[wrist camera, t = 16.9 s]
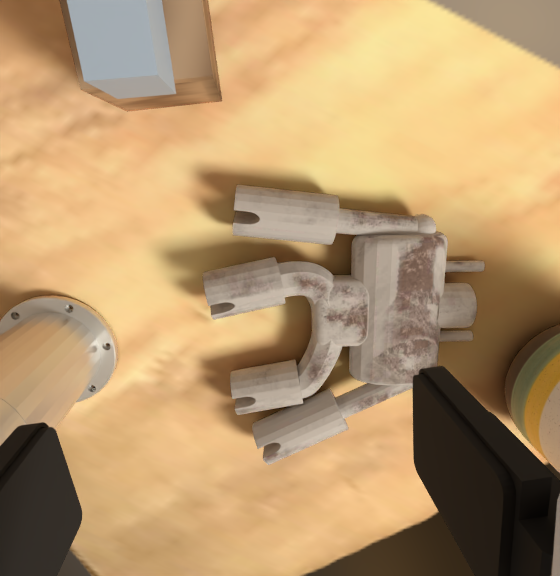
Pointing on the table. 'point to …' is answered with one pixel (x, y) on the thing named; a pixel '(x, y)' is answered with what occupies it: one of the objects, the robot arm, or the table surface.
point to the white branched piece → (340, 310)
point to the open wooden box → (172, 58)
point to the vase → (537, 393)
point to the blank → (123, 46)
